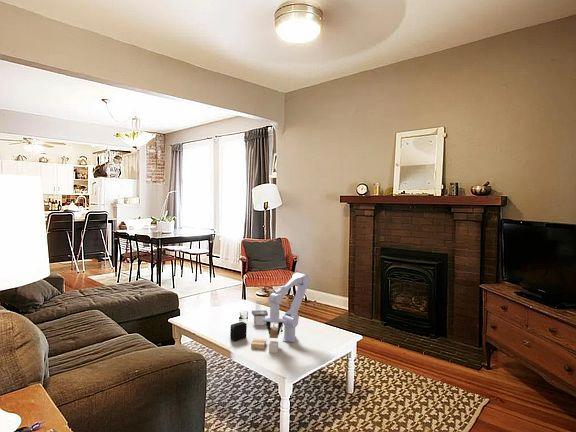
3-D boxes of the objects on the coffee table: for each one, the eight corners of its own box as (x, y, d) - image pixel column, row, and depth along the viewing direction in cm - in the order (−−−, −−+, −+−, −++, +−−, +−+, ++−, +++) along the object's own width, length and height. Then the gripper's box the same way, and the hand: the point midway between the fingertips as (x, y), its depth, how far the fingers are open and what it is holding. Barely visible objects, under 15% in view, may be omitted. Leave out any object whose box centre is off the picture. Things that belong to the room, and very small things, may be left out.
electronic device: (246, 337, 239) (246, 323, 238) (234, 341, 232) (234, 326, 231) (242, 336, 242) (242, 321, 241) (230, 339, 235) (230, 324, 234)
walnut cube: (270, 334, 231) (270, 327, 231) (278, 335, 230) (278, 327, 230) (269, 337, 226) (269, 329, 226) (277, 338, 225) (277, 330, 225)
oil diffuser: (275, 318, 280) (275, 296, 279) (278, 329, 256) (279, 306, 256) (241, 318, 277) (242, 296, 276) (241, 330, 253) (242, 306, 252)
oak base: (253, 343, 231) (253, 338, 230) (266, 344, 230) (266, 339, 230) (251, 348, 223) (251, 343, 223) (263, 349, 222) (264, 344, 222)
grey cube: (269, 348, 223) (270, 340, 223) (278, 349, 223) (278, 341, 222) (268, 352, 218) (269, 344, 218) (277, 352, 218) (277, 344, 217)
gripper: (262, 313, 224) (261, 335, 225) (285, 315, 223) (284, 337, 223) (264, 310, 231) (263, 331, 232) (286, 311, 230) (286, 332, 230)
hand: (274, 333), depth 228 cm, fingers closed on walnut cube, 5 cm apart
